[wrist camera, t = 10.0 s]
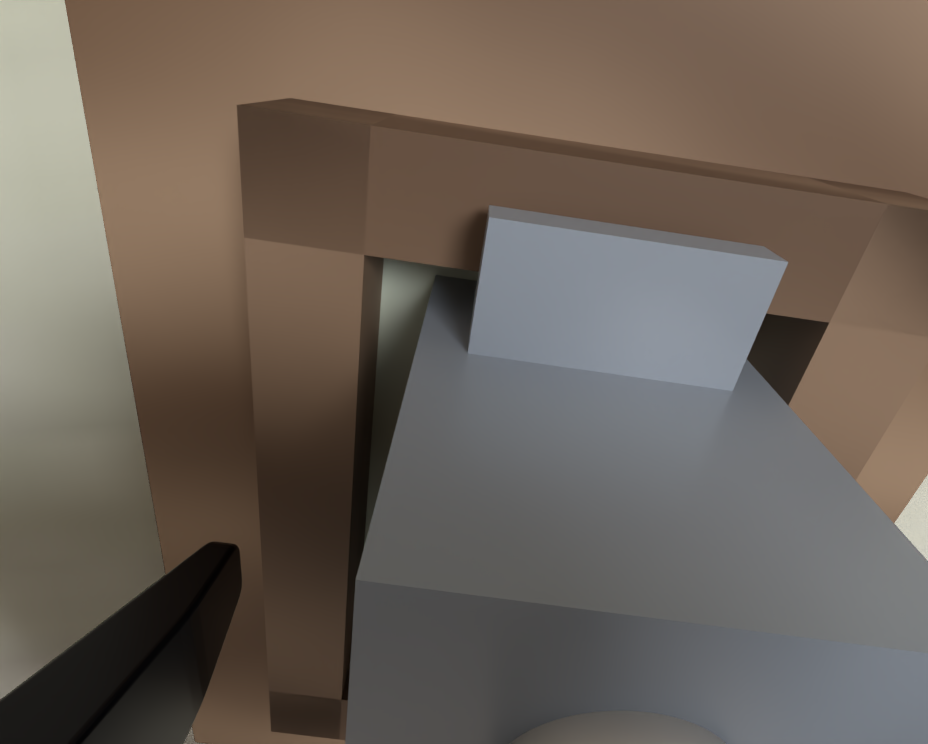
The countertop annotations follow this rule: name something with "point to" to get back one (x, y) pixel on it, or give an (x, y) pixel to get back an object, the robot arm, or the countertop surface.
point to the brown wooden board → (468, 246)
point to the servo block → (623, 518)
